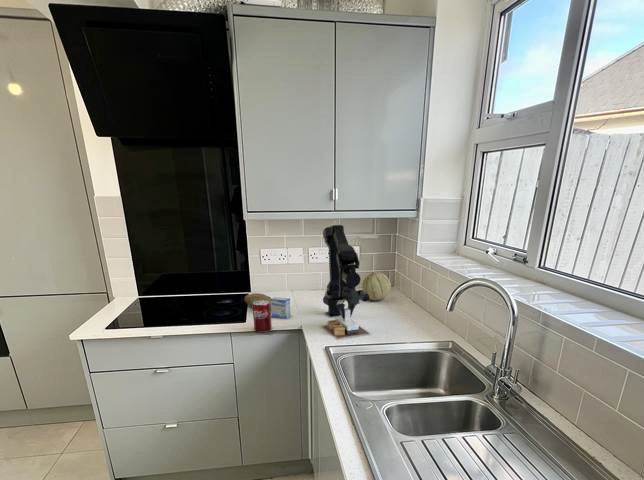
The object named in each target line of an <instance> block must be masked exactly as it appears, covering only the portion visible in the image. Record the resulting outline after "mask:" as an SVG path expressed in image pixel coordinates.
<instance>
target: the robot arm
mask: <svg viewBox="0 0 644 480" xmlns="http://www.w3.org/2000/svg"><path fill="white" fill-rule="evenodd" d="M322 237H323V239H324V243H325V245H326V247H327V248H328V267H329V281H328V283H327V285H326V290H325V293H324V295H323V298H322V304H324V305H326V306H327V307H328V308H327V309H328V311H326V312H325V314H326V315H327V316H329V317H330V318H335V317H339V316H342V318H343V319H344V318H345V312H344V309H345V307H346V304H345V302H347V308H349V309H350V319H351V318H352V315H353V313H354V310H355V308H356V307H357V306H358V305H359V304H360V303H361V302H360V300H361V301H362V302H369V301H371V299H370V296H369V294H368V293H366V292H364V291H363V289H357V290H356V287H358V286H359V285H360V283H361V276H360V274H359V273H358V272H356V271H357V270H358V269H360V260H359V259H360V258H359V255H358V253H357V252H356V250H355V248H354V246H352V245H350V244H349V241H348V239H347V236H346V233H345V227H344V225H342V224H333V225H331V226H326V227H325V228H324V229H323V231H322ZM356 269H357V270H356Z"/></svg>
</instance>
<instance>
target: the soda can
mask: <svg viewBox="0 0 644 480" xmlns="http://www.w3.org/2000/svg"><path fill="white" fill-rule="evenodd" d="M251 307H252V316H253V317H252V319H253V329H254V331H255V332H256V333H268V332H270V331H272V329H273V327H272V325H273V324H272V315H271V309H270V303H269V302H268V301H255V302H253V304H252V306H251Z"/></svg>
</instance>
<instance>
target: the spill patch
mask: <svg viewBox="0 0 644 480" xmlns="http://www.w3.org/2000/svg"><path fill="white" fill-rule="evenodd" d="M323 328H324V329H326V330H327V331H328V332H329V333H331V334H332V335H333V336H334V337H336V338H337V339H342V338H348V337H355V336H361V335H369V334H370V333H369V332H368V331H366V330H365V329H363V328H362V327H361V326H359V333H353V334H346V333H345V335H336V336H335V334H334V332H333V330H330V329H329V328H327V325H323Z"/></svg>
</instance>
